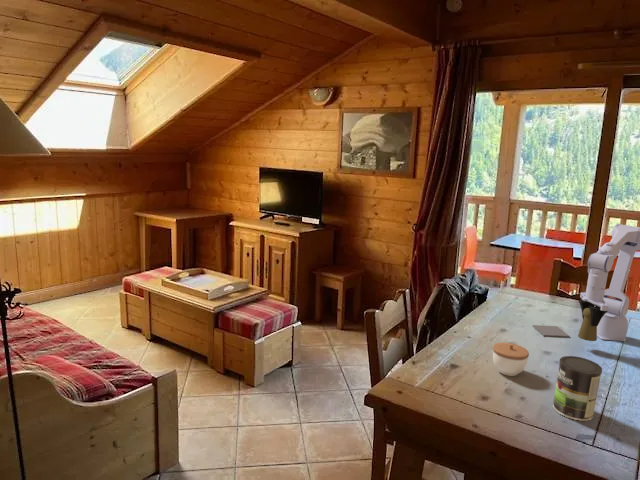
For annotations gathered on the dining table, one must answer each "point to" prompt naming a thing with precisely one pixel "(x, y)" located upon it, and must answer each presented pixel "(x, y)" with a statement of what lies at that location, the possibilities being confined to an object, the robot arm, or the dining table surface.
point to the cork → (587, 327)
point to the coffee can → (577, 388)
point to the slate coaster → (550, 331)
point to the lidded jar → (509, 358)
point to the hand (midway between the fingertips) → (589, 322)
